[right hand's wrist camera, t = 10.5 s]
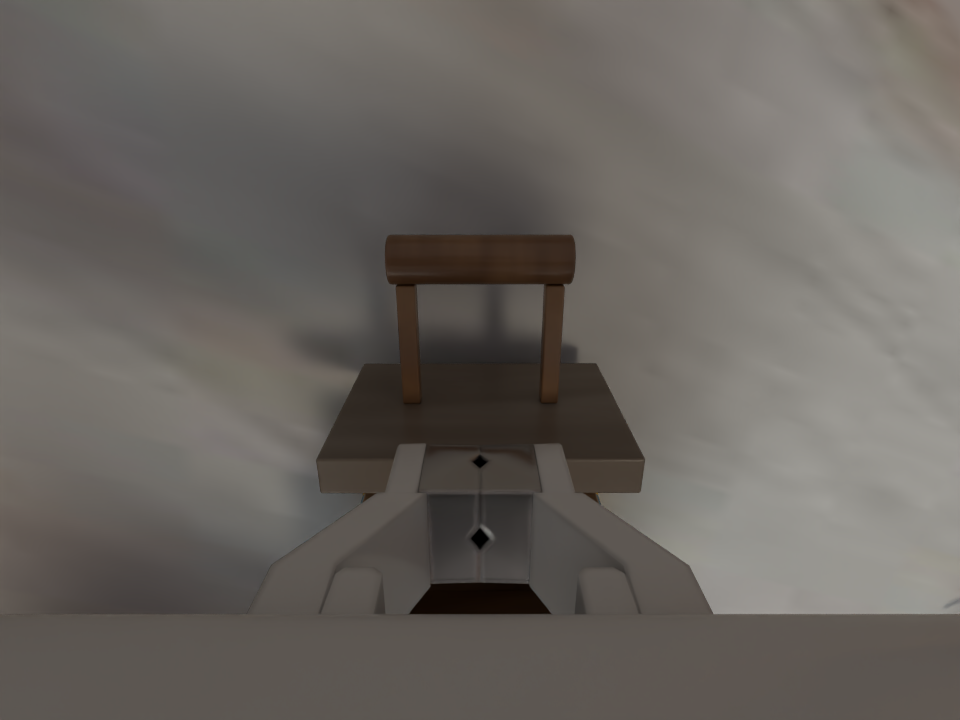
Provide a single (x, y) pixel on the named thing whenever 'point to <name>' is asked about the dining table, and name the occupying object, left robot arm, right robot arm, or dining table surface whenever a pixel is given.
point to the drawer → (480, 395)
